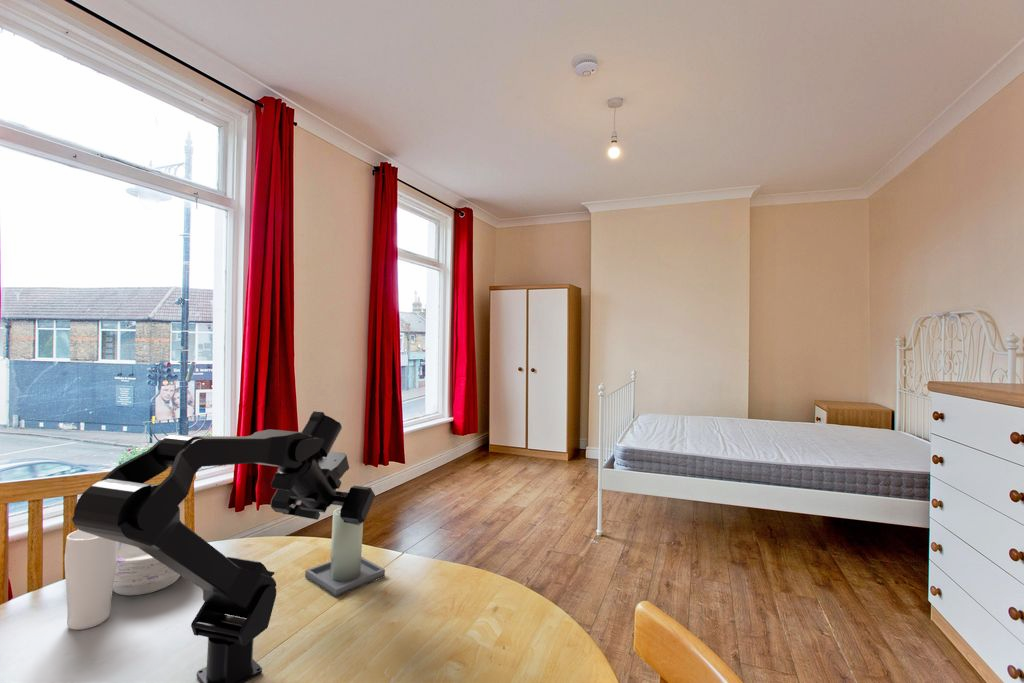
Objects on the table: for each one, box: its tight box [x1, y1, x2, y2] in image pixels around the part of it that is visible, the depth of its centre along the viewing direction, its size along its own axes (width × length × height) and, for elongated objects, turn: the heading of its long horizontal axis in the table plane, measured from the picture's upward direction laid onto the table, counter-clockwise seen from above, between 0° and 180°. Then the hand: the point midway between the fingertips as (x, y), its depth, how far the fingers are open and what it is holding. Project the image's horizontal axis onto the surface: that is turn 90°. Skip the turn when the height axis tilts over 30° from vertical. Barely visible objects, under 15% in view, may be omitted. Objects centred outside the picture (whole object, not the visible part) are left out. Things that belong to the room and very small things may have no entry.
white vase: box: [64, 529, 119, 631], centre depth 78 cm, size 7×7×15 cm
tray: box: [304, 556, 386, 598], centre depth 97 cm, size 11×11×2 cm
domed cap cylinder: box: [329, 506, 364, 581], centre depth 97 cm, size 6×6×13 cm
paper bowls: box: [112, 542, 181, 596], centre depth 91 cm, size 15×15×8 cm
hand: (338, 520), depth 94 cm, fingers open, 9 cm apart
